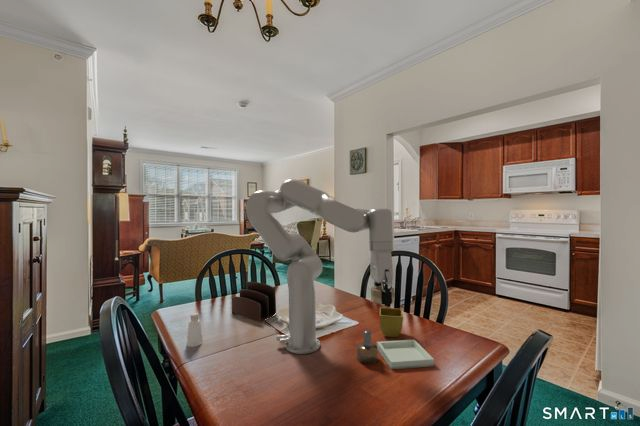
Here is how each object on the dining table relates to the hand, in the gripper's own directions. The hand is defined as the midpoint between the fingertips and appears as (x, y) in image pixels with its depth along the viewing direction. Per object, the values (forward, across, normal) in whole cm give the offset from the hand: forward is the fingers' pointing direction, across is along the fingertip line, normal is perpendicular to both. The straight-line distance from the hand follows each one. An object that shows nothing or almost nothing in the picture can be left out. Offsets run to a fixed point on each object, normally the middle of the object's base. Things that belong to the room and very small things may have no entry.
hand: (382, 299), depth 98 cm
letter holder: (+18, -46, -47) cm, 69 cm away
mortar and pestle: (+19, 0, -6) cm, 20 cm away
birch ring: (0, 0, 0) cm, 0 cm away
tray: (+20, -1, +7) cm, 21 cm away
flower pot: (+20, -18, +8) cm, 28 cm away
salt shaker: (+17, -18, -66) cm, 70 cm away
